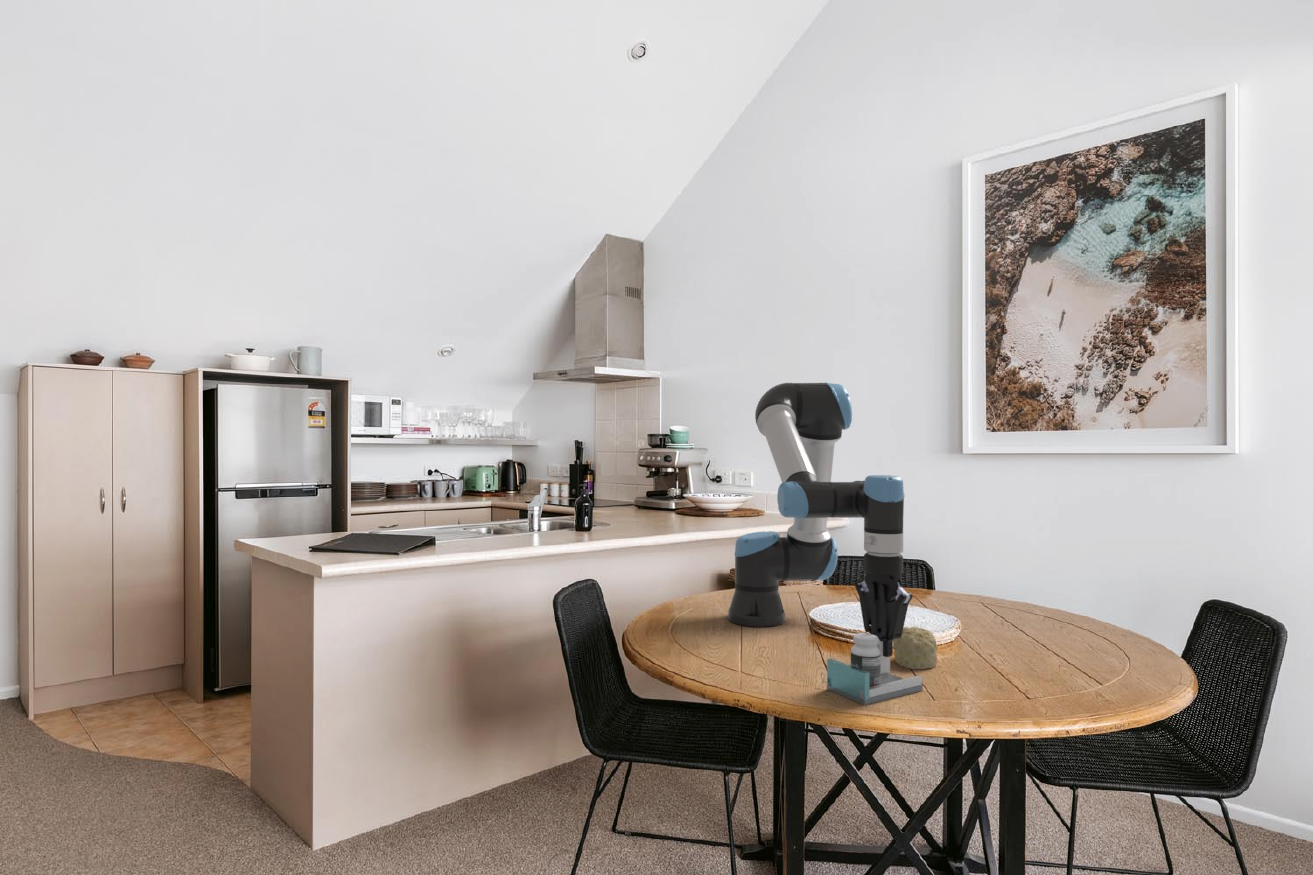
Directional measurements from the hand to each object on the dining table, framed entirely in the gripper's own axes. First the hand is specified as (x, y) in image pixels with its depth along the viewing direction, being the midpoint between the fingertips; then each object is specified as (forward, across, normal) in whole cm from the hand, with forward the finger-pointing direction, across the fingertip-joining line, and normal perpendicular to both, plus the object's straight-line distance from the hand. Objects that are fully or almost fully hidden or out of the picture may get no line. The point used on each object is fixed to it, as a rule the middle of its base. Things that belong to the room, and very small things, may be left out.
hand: (882, 671), depth 153 cm
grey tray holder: (+3, 0, -2) cm, 4 cm away
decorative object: (+4, -8, +19) cm, 21 cm away
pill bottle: (+3, 0, -4) cm, 5 cm away
